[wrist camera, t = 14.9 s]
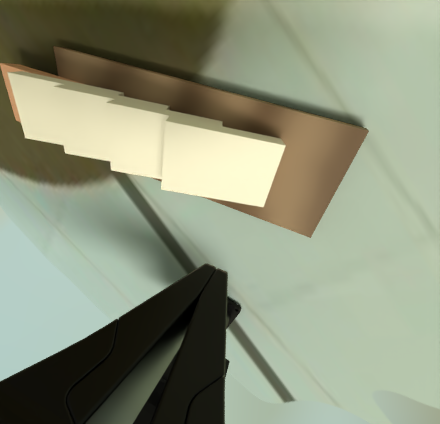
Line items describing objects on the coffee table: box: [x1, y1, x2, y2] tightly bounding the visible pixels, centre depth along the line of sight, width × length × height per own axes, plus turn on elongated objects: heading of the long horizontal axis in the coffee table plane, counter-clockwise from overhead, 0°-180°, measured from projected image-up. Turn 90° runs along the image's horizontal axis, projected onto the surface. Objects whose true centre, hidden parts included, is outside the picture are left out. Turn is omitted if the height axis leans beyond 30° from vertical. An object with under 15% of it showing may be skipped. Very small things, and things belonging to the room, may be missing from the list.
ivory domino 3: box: [106, 99, 223, 179], centre depth 18 cm, size 2×5×8 cm
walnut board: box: [53, 46, 369, 238], centre depth 20 cm, size 26×9×1 cm, turn 76°
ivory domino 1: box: [7, 71, 124, 145], centre depth 20 cm, size 2×5×8 cm
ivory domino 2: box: [53, 84, 170, 161], centre depth 19 cm, size 2×5×8 cm
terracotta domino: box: [0, 63, 83, 122], centre depth 22 cm, size 2×5×8 cm
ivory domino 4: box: [161, 116, 286, 207], centre depth 17 cm, size 2×5×8 cm
